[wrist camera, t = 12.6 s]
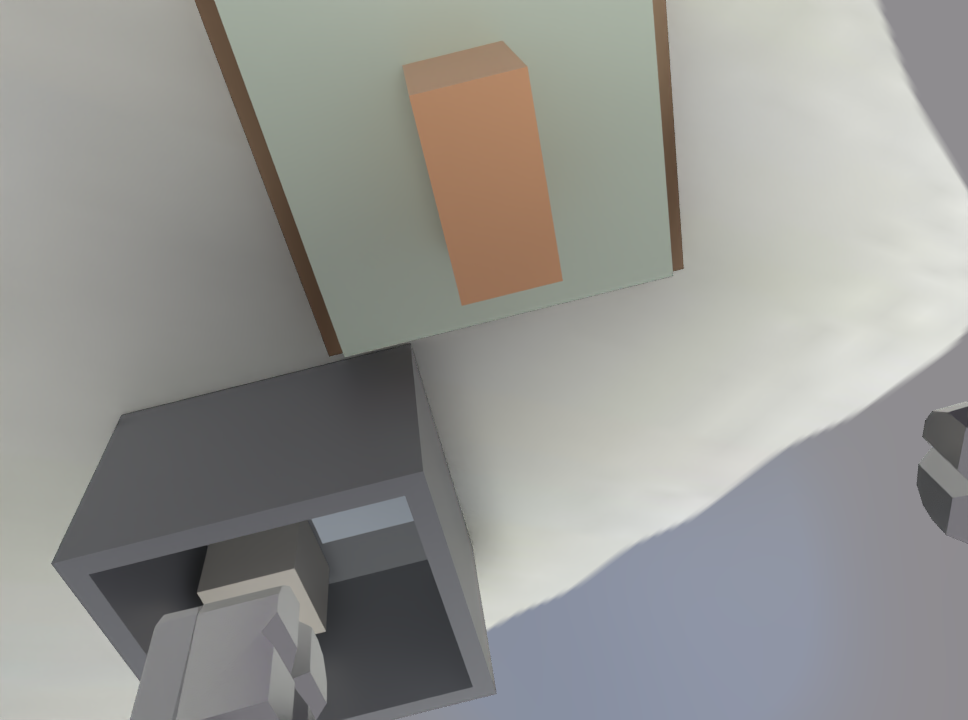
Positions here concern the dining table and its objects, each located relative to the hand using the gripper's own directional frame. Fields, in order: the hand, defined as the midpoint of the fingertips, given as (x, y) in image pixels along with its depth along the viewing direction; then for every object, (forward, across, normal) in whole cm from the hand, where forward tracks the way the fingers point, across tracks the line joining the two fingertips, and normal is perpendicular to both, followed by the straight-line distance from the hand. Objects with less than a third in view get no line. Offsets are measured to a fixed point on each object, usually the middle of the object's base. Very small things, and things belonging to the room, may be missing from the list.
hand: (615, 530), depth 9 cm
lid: (+19, -1, 0) cm, 19 cm away
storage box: (+20, +9, +14) cm, 26 cm away
